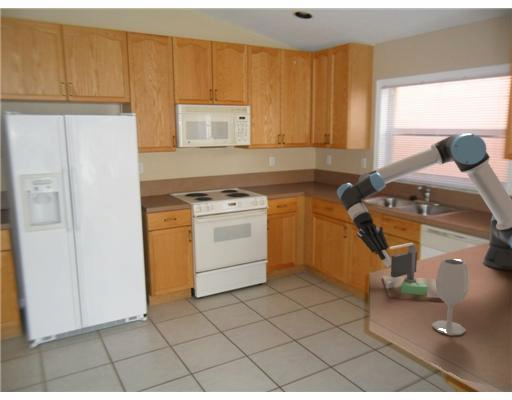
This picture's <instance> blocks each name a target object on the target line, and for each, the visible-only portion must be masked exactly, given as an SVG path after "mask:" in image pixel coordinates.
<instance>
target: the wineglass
mask: <svg viewBox="0 0 512 400" xmlns="http://www.w3.org/2000/svg"><path fill="white" fill-rule="evenodd" d="M440 262H441V263H440V264H439V266H438V270H437V273H436V277H435V278H436V280H435V282H436V290H437V294H438V296H439V297H440V298H441V299H442V300H443V301H444V302H443V301H442V302H443V303H445V305H447V313H446V320H436V321H435V322H433V323H432V324H431V326H432V327H433V329H435V330H436V331H437V332H439V333H441V334H445V335H447V336H450V337H451V336H462V335H463V334H464V333H466V332H467V329H466V328H465V327H464V326H462V325H461V324H460V323H457V322H455V321H453V313H454V312H453V310H454V307H456V305H458V304H460V303H461V302H463V301H464V300H465V299H466V296H467V294H468V292H469V286H470V285H469V284H470V282H469V281H470V280H469V271H468V270H469V269H468V267H467V266H468V265H467V263H466V262H465V261H463V260H461V259H459V258H458V259H457V258H444V259H441V261H440Z"/></svg>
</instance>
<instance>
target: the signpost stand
mask: <svg viewBox="0 0 512 400" xmlns="http://www.w3.org/2000/svg"><path fill="white" fill-rule="evenodd" d="M405 247H408V250H407V252H402V253H398V254H394V255H393V254H391V260H392V262H391V267H390V276H391V277H394V278H396V277H404V281H405V282H411V283H416V278H417V277H415V273H416V272H417V262H418V261H417V260H418V251H416V250H417V244H414V243H413V242H409V243H403V244H399V245H398V244H397V245H394V246H392V245H391V246H389V247H388V248H389V250H396V249H401V248H405Z"/></svg>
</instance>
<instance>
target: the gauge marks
mask: <svg viewBox="0 0 512 400" xmlns="http://www.w3.org/2000/svg"><path fill="white" fill-rule="evenodd" d="M394 285H395V282H394V281H390V282H386V287H385V289H386V288H388V289H389V288H393V287H394ZM427 288H428V287H427V286H426V285H425V284H424V283H411V282H404V281H403V283H402V287H401V293H407V294H417V295H427Z"/></svg>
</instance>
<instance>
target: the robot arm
mask: <svg viewBox="0 0 512 400" xmlns="http://www.w3.org/2000/svg"><path fill="white" fill-rule="evenodd" d="M490 158H491V156H490V155H489V153H488V152H487V145H486V142H485V140H484V139H483V138H482V137H480V136H479V135H477V134H474V133H472V132H471V133H470V132H469V133H468V132H466V133H465V132H464V133H455V134H451V135H449V136H447V137H445V138H443V139H441V140H439V141H437V142H435V143H433V144H431V146H430V147H428V148H427V149H424V150H422V151H419V152H417V153H414V154H412V155H409V156H406V157H404V158H402V159H399V160H396V161H394V162H392V163H390V164H387V165H384V166H382V167H380V168H377V169H375V170H373V171H370V172H364V173H363V174H361V175H360V176H359V178H358V181H357V182H356V183H355V184H352V183H350V182H346V183H344V184H342V185H340V186H339V187H338V188H337V190H336V195H337V197H338V198H339V201H340V203H341V204H342V205H343V207H344V209H345V211H346V212H347V214H348V215H349V217H350V219H351V220H352V222H353V224H354V226H355V228H356V229H358V232H357V233H356V237H358V238H360V239H361V240H362V242H363V243H364V244H365V245H366V247H367V248H368V249H369V250H370V251H371V252H372V253H374V255H378V256H379V258H380V260H381V261H382V262H383V264H384V265H385V267H386V269H389V268H390V269H391V262H392V257H391V256H390V253H388V250H387V249H388V248H389V247H390V246H389V244H388V242H387V239H386V237H385V234H384V231H383V230H384V229H383V227H382V226H380V227H378V226H377V225H376V224H375V223H374V217H372V215H371V213H370V212H369V210H368V208H367V207H366V205H365V203H364V200H366V199H368V198H369V197H371V196H373V195H375V194H377V193H379V192H381V191H382V190H383V189H384V188H386V187H387V185H386V184H389V183H391V182H394V181H397V180H399V179H402V178H405V177H407V176H410V175H412V174H415V173H417V172H420V171H422V170H425V169H427V168H429V167H432V166H435V165H441V166H442V165H444V164H446V163H447V164H448V163H452V162H454V163H455V165H456V167H457V168H458V169H459V171H460V173H463V174H466V175H467V176H468V178H469V179H470V181H471V182H472V184H473V186H474V187H475V189H476V190H477V192H478V193H479V195H480V196H481V199H483V201H484V203H485V204H486V206H487V208H488V209H489V210H490V212H491V214H492V216H491V220H490V229H489V231H490V232H489V243H488V248H487V250H486V251H485V254H484V255H483V264H484V265H485V266H487V267H489V268H493V269H498V270H504V271H512V198H511V197H510V195H509V193H508V192H507V190H506V188H505V187H504V185H503V184H502V182H501V181H500V178H498V176H497V174H496V173H495V171H494V170H493V168H492V166H491V165H490V163H489V161H490Z"/></svg>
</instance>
